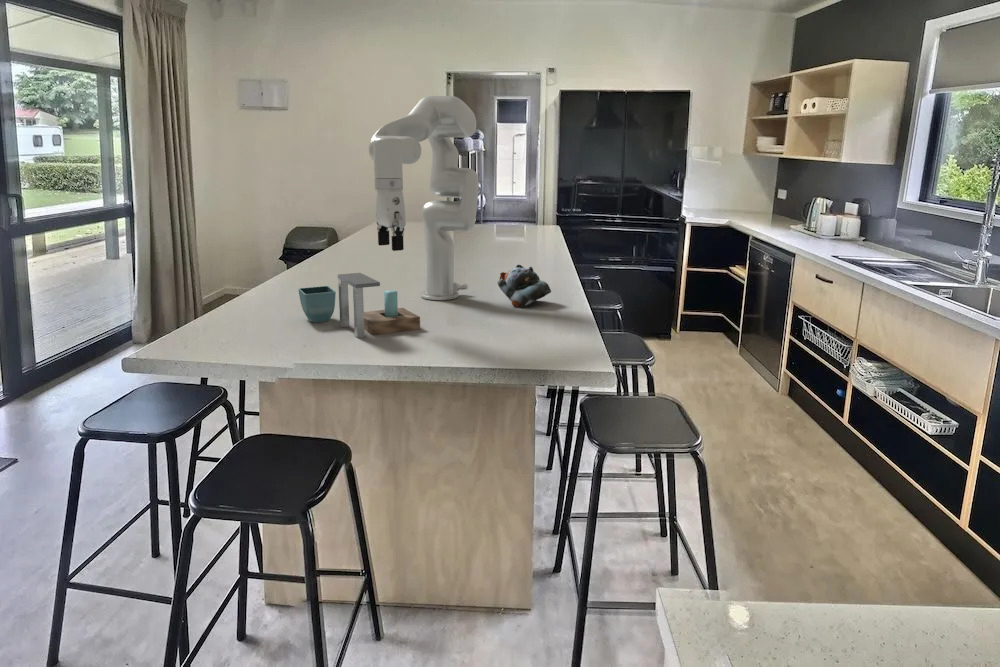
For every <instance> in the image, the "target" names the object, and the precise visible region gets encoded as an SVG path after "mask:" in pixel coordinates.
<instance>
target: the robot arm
mask: <svg viewBox="0 0 1000 667" xmlns="http://www.w3.org/2000/svg"><path fill="white" fill-rule="evenodd" d="M476 119H477V118H476V115H475V113H474V112H473V110H472V108H470V107H469V106H468V105H467V104H466V102H465V101H463V100H462V99H461V98H459V97H458V96H454V95H429V96H425V97H422V98H421V99H420V100H419V101H418V102H417V103H416V105H415V106H414V107H413V108H412V109H411V111H410V112H409V113H408V114H407V115H406V116H403V117H400V118H397V119H395V120H393V121H390V122H388V123H386V124H384V125H382V126H381V127H380V128H379V129H378V130H377V131H376V132H375V133H374V134H373V136H372V137H371V139H370V141H369V145H368V154H369V157H370V158H371V160H372V161H373V168H374V169H373V170H374V175H373V176H374V191H376V199H375V200H376V201H375V202H376V203H375V205H376V206H375V209H376V211H375V212H376V213H375V217H376V224H377V227H376V230H377V239H378V240H377V244H378V246H389V245H390V231H391V234H392V235H391V251H393V252H397V251H398V252H399V251H403V250H404V249H405V248H404V235H405V227H406V222H407V221H406V209H405V208H406V206H405V200H404V193H403V191H404V181H403V180H404V179H403V165H413V164H416V162H418V161H419V159H421V158H420V157H421V155H422V147H421V144H420V143H421V142H424V141H426V140H427V139H428V142H429V144H430V147H431V153H432V154H431V155H432V158H431V166H430V167H431V168H430V178H429V191H430V193H431V194H432V195H434V197H435V196H436V197H438V198H439V197H440V198H450V199H451V198H455V199H461V200H460V201H458V200H457V201H456V200H454V201H453V200H452V201H451V200H430V201H427V202H426V203H425V204H424V205H423V206H422V209H421V220H422V226H423V231H424V262H425V263H424V264H425V265H424V268H425V269H424V273H425V274H424V275H425V276H424V278H425V279H424V281H425V283H424V284H425V286H424V287H425V288H424V289H425V290H423V291H422V292H420V297H421V298H423V299H425V300H431V301H451V300H455V299H457V298H459V296H460V295H459V291H460V290H461V291H462V290H468V283H460V282H459V283H457V282H455V243H454V240H453V238H452V236H451V234H449V232H461V233H464V232H465V233H466V232H470V231H472V230H473V229H474V227H475V224H476V219H477V218H476V217H477V211H478V210H477V208H478V202H479V201H478V200H479V199H478V198H479V189H480V188H479V186H480V182H479V181H480V180H479V176H478V173H477V172H476V171H475V170H474V169H472V168H468V167H459V157H460V156H459V155H460V153H459V151H458V148H457V147H456V144H454V142H453V141H452V140H451V139H450V138H462V139H463V138H470V137H472V136H473V135H475V132H476V129H477V120H476ZM389 229H390V230H389Z"/></svg>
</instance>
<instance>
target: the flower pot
mask: <svg viewBox="0 0 1000 667" xmlns="http://www.w3.org/2000/svg"><path fill="white" fill-rule="evenodd" d="M297 290H298V295H299V296H298V297H299V301H300V304H301V305H300V307H301V308H302V311H303V313H304V314H305V317H306V318H307V319H308V320H309V321H310V322H311V323H313V324H314V323H318V322H328V321H330V320H331V318H332V316H333V315H334V311H335V307H336V306H335V305H336V291H335V290H334V289H333V288H331V287H330V285H329V286H328V285H322V286H320V285H319V286H311V287H301V288H300V287H299V288H298V289H297Z"/></svg>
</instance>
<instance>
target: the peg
mask: <svg viewBox="0 0 1000 667" xmlns="http://www.w3.org/2000/svg"><path fill="white" fill-rule="evenodd" d="M383 297H384V298H383V299H384V300H383V303H384V304H383V305H384V306H383V307H384V310H385V317H386V318H387V317H395V316H398V308H399V306H398V290H393V289H391V290H389V289H388V290H384V291H383Z"/></svg>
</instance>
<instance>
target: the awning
mask: <svg viewBox="0 0 1000 667" xmlns="http://www.w3.org/2000/svg"><path fill="white" fill-rule="evenodd" d="M337 281H338V307H339V308H338V309H339V325H340V326H339V327H341V328H349V327H350V311H349V310H350V305H349V304H350V303H349V302H350V301H349V286H351V287H352V294H353V295H352V299H353V301H352V302H353V324H354V326H353V327H354V337H355V338H357V339H360V338H365V330H364V312H365V311H364V310H365V309H364V308H365V307H364V306H365V305H364V288H371V287H373V288H374V287H381V282H380V281H378V280H376V279H374V278H372V277H370V276H368V275H366V274H364V273H362V272H353V273H339V274H337Z"/></svg>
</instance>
